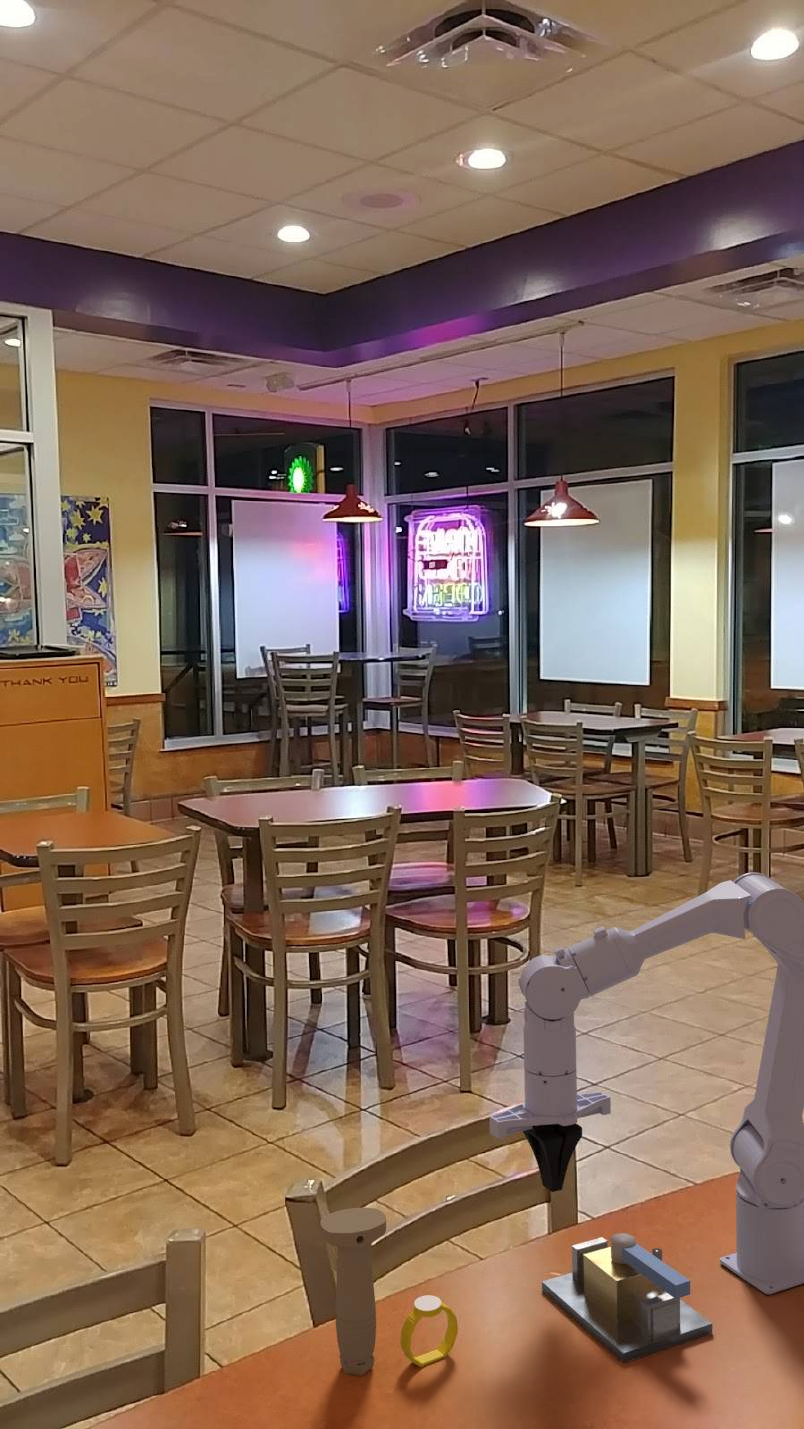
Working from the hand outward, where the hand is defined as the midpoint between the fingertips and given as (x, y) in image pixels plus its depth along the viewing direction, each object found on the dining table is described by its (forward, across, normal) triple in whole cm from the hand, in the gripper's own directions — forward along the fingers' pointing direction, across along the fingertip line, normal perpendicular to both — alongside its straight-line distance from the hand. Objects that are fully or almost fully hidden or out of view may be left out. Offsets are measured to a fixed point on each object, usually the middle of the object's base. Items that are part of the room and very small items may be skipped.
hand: (552, 1187), depth 135 cm
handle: (+11, -26, -5) cm, 29 cm away
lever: (+5, +3, -13) cm, 14 cm away
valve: (+10, +3, -9) cm, 14 cm away
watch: (+11, -19, -7) cm, 23 cm away
